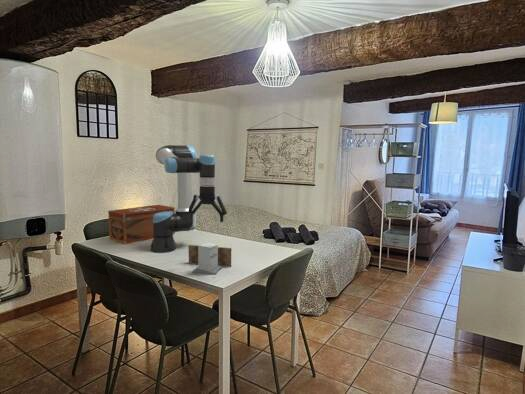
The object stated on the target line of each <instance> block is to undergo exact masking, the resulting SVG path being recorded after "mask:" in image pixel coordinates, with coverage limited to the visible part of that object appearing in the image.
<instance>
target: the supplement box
mask: <svg viewBox="0 0 525 394" xmlns="http://www.w3.org/2000/svg"><path fill="white" fill-rule="evenodd" d="M218 247H219V244H217V243H212V242H205V243H203V244H200V245H199V246H198V264H197V265H198V266H197V267H198V269H200V270H204V271H208V272H210V271H211V270H214V269H216V268H218Z"/></svg>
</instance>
